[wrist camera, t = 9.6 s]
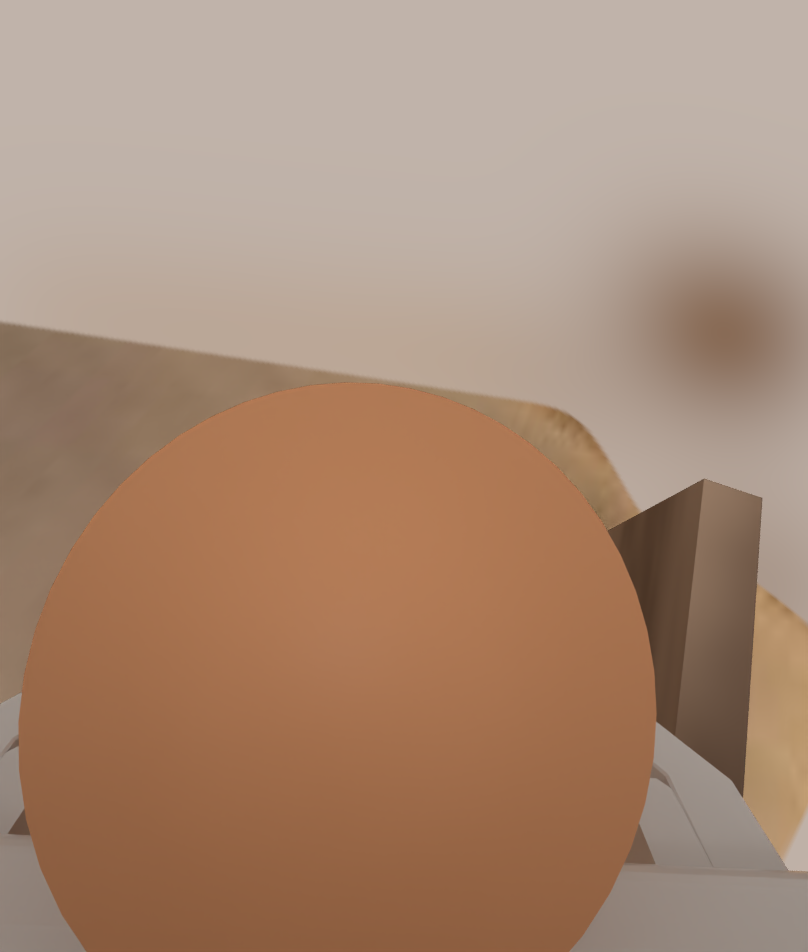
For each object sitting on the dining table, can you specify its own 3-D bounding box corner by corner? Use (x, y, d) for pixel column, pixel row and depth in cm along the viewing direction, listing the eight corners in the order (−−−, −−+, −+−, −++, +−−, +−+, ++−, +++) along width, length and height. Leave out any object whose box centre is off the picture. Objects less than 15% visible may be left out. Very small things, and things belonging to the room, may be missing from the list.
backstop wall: (203, 836, 22) (38, 1015, 11) (348, 477, 28) (340, 356, 17) (527, 960, 21) (710, 1286, 10) (600, 564, 28) (762, 498, 17)
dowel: (280, 706, 16) (-144, 908, 3) (328, 584, 17) (209, 320, 4) (401, 749, 15) (598, 1205, 2) (438, 622, 17) (686, 477, 4)
